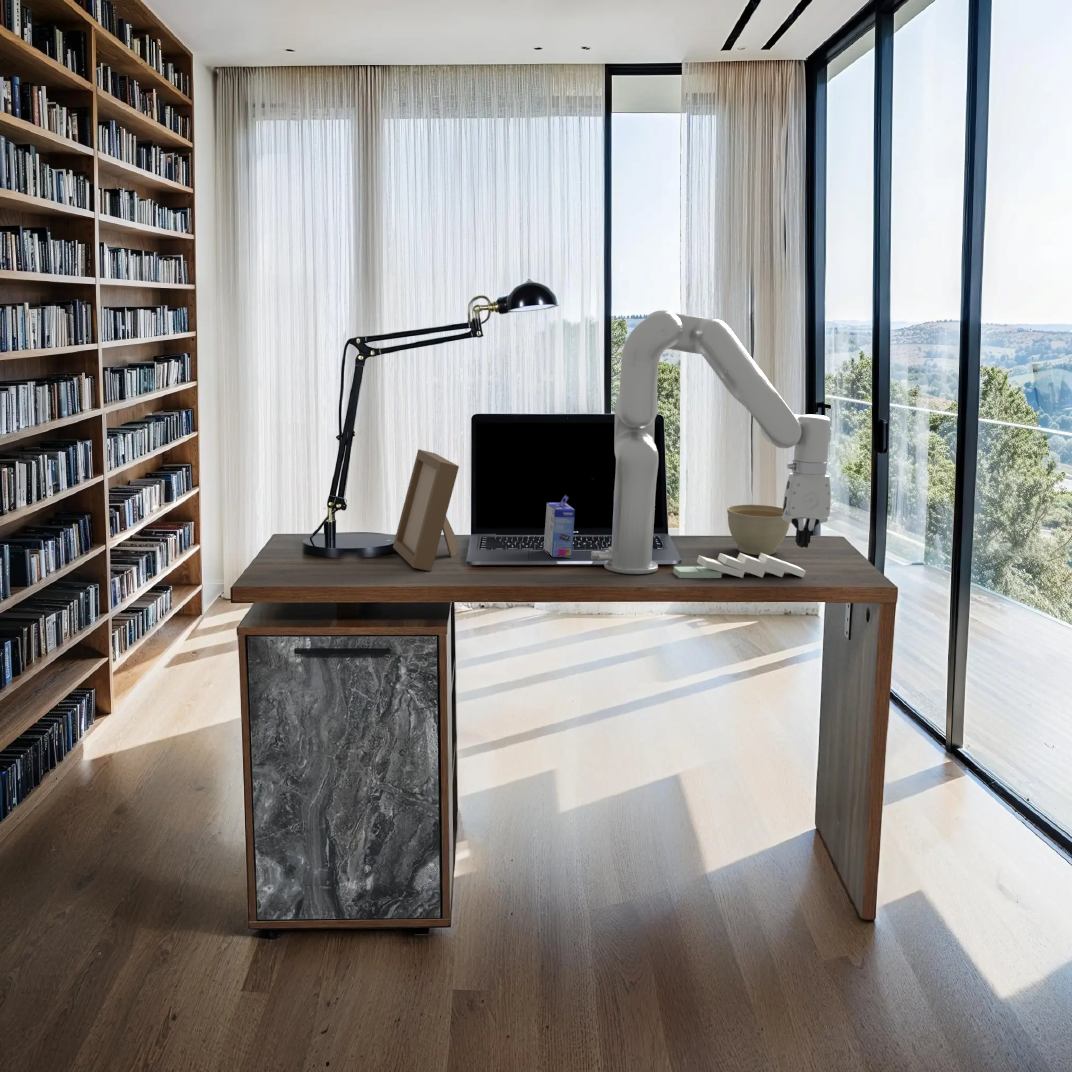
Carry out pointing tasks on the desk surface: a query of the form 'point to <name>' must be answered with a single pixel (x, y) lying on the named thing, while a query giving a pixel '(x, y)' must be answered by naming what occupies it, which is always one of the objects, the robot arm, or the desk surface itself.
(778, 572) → the domino
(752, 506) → the planter bowl
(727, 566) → the domino
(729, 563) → the domino
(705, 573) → the domino
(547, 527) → the ink cartridge box
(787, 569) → the domino
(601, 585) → the desk surface
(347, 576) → the desk surface
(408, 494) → the photo frame
